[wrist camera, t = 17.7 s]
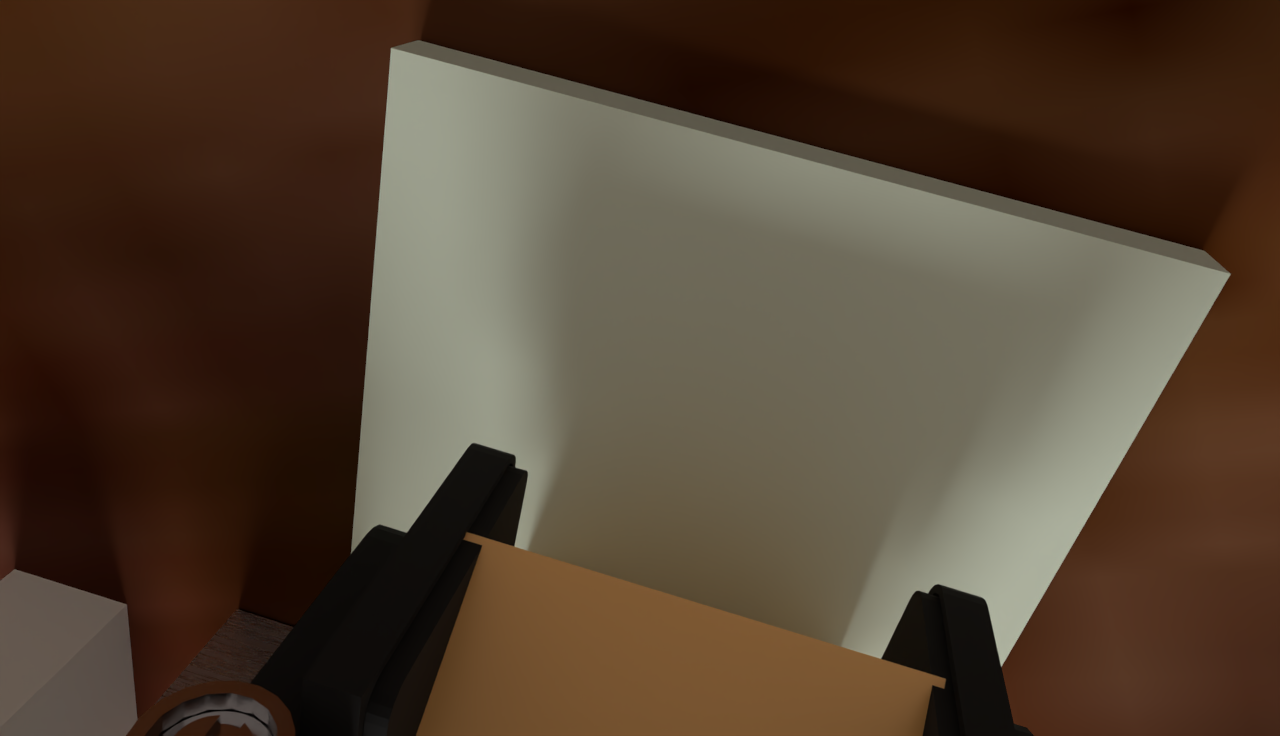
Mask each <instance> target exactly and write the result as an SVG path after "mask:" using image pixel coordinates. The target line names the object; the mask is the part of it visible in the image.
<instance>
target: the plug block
mask: <svg viewBox="0 0 1280 736" xmlns="http://www.w3.org/2000/svg"><path fill="white" fill-rule="evenodd" d="M463 540H467V541H470V542H473V543H476V544H480V545H482V548H481V551H480V554H479V556H478V559H477V562H476V565H475V568H474V571H473V574H472V577H471V579H470V582H469V585H468V588H467V591H466V594H465V597H464V599H463V602H462V605H461V608H460V611H459V614H458V617H457V619H456V622H455V625H454V628H453V631H452V634H451V637H450V640H449V642H448V645H447V648H446V651H445V654H444V657H443V660H442V662H441V665H440V668H439V671H438V674H437V677H436V680H435V682H434V685H433V688H432V691H431V694H430V697H429V700H428V703H427V705H426V708H425V711H424V714H423V717H422V720H421V723H420V725H419V728H418V731H417V734H416V736H923V730H924V725H925V720H926V715H927V710H928V705H929V700H930V695H931V690H932V685H934V686H937V687H940V688H943V689H944V687H945V682H946V679H945V678H942V677H938V676H935V675H932V674H928V673H925V672H922V671H919V670H915V669H912V668H909V667H906V666H902V665H899V664H896V663H893V662H889V661H886V660H883V659H880V658H876V657H873V656H870V655H866V654H863V653H860V652H857V651H853V650H850V649H847V648H844V647H840V646H837V645H834V644H831V643H827V642H824V641H821V640H818V639H814V638H811V637H808V636H804V635H801V634H798V633H795V632H791V631H788V630H785V629H782V628H778V627H775V626H772V625H769V624H765V623H762V622H759V621H755V620H752V619H749V618H746V617H742V616H739V615H736V614H733V613H729V612H726V611H723V610H720V609H716V608H713V607H710V606H707V605H703V604H700V603H697V602H693V601H690V600H687V599H684V598H680V597H677V596H674V595H671V594H667V593H664V592H661V591H658V590H654V589H651V588H648V587H645V586H641V585H638V584H635V583H631V582H628V581H625V580H622V579H618V578H615V577H612V576H609V575H605V574H602V573H599V572H596V571H592V570H589V569H586V568H582V567H579V566H576V565H573V564H569V563H566V562H563V561H560V560H556V559H553V558H550V557H547V556H543V555H540V554H537V553H534V552H530V551H527V550H524V549H520V548H517V547H514V546H511V545H507V544H504V543H501V542H498V541H494V540H491V539H488V538H485V537H481V536H478V535H475V534H472V533H468V532H466V535H465V537H464V539H463Z"/></svg>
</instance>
